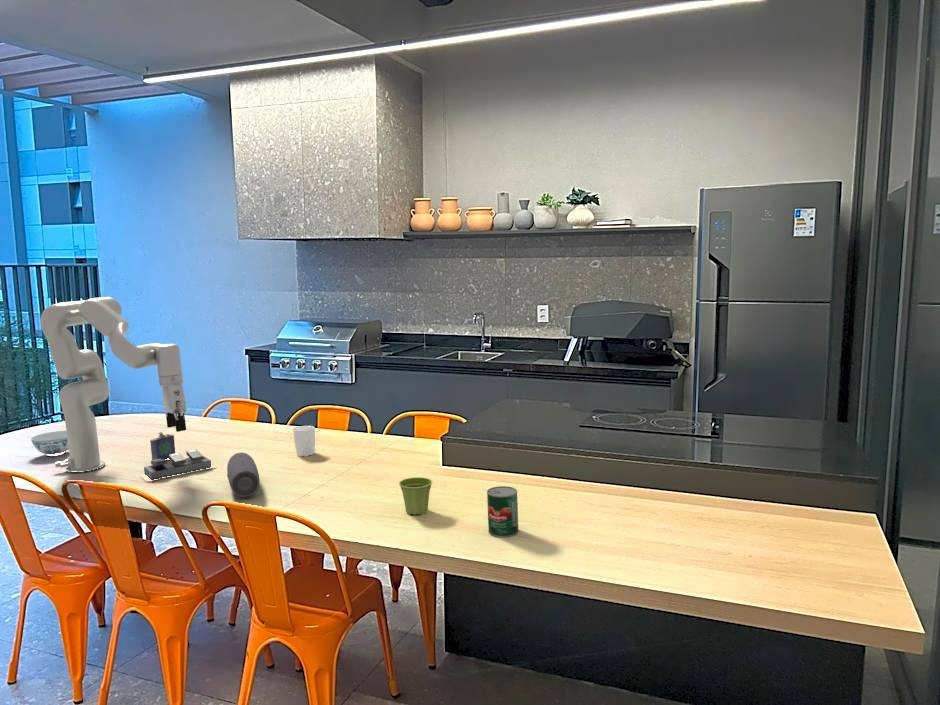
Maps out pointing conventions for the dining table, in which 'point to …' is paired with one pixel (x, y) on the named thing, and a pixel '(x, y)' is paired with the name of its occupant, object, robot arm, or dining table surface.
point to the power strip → (176, 468)
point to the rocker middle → (177, 458)
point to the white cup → (304, 440)
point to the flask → (162, 446)
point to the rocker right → (194, 455)
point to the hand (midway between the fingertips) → (176, 428)
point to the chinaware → (51, 442)
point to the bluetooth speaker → (243, 475)
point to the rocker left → (159, 462)
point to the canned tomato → (502, 511)
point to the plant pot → (416, 494)
